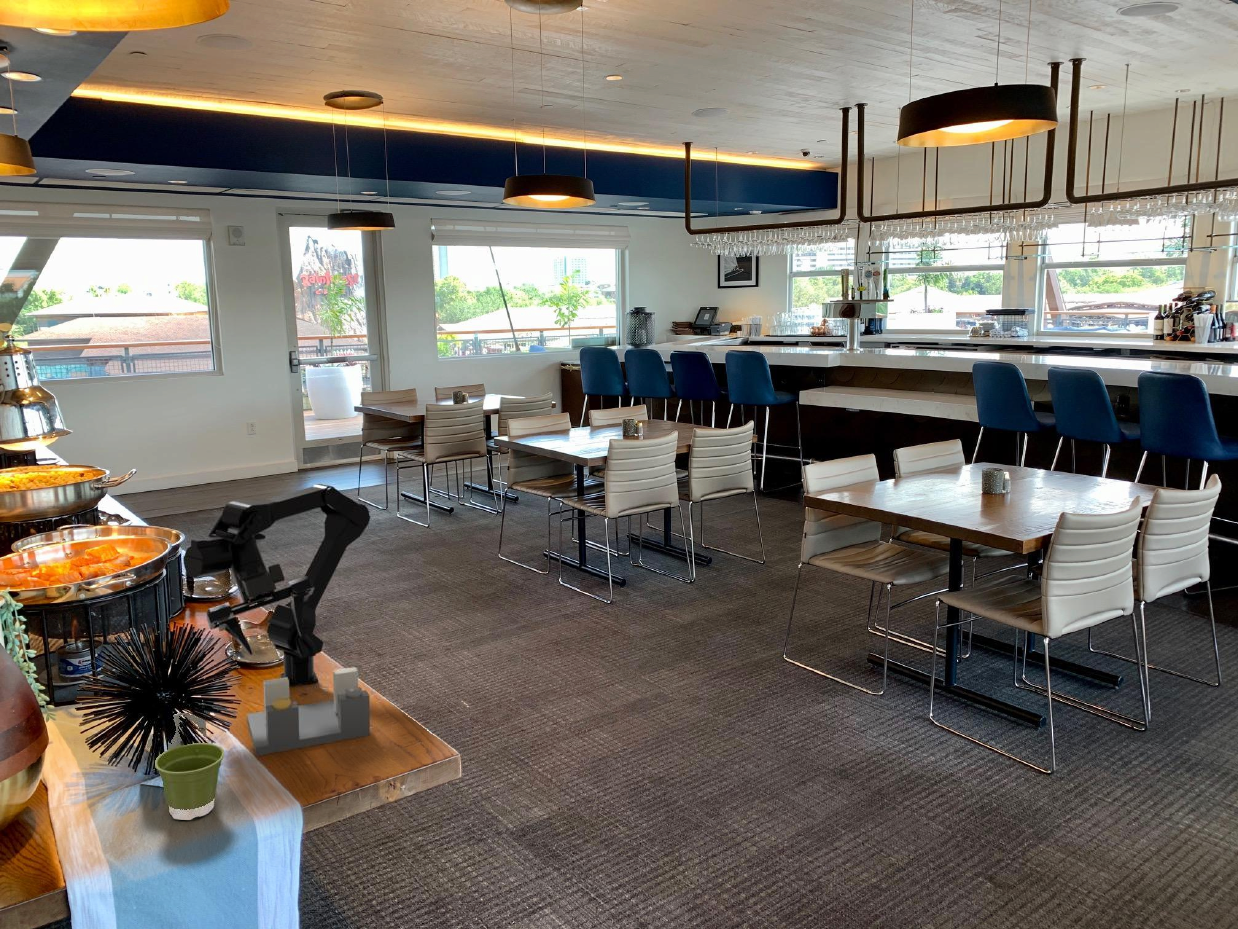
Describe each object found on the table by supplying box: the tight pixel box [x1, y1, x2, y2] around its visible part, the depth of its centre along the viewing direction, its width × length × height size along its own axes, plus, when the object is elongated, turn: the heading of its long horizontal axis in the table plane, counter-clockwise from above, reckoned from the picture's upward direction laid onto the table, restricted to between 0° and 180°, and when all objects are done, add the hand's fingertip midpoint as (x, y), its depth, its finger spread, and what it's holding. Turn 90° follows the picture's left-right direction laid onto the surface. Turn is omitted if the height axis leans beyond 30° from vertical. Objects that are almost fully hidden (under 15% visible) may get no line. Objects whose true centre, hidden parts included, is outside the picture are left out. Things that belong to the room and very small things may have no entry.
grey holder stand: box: [246, 686, 371, 757], centre depth 164 cm, size 14×19×8 cm
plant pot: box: [155, 743, 225, 810], centre depth 137 cm, size 9×9×9 cm
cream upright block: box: [332, 666, 359, 714], centre depth 168 cm, size 2×4×8 cm, turn 118°
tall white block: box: [263, 677, 290, 723], centre depth 162 cm, size 2×4×8 cm, turn 117°
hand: (276, 645), depth 168 cm, fingers open, 9 cm apart
